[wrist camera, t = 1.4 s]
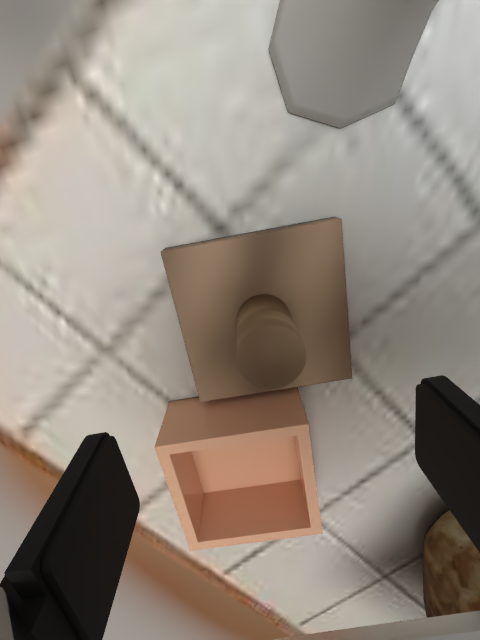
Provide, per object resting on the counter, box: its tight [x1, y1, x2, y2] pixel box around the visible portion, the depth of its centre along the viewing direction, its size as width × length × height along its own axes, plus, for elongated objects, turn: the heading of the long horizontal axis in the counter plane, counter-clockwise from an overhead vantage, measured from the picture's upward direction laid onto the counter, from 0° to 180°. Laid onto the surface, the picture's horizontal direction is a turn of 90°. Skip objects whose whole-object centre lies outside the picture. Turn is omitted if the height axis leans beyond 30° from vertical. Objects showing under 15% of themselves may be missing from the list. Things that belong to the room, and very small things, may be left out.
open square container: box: [155, 387, 322, 551], centre depth 23 cm, size 9×9×4 cm
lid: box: [161, 217, 352, 402], centre depth 18 cm, size 10×10×6 cm
